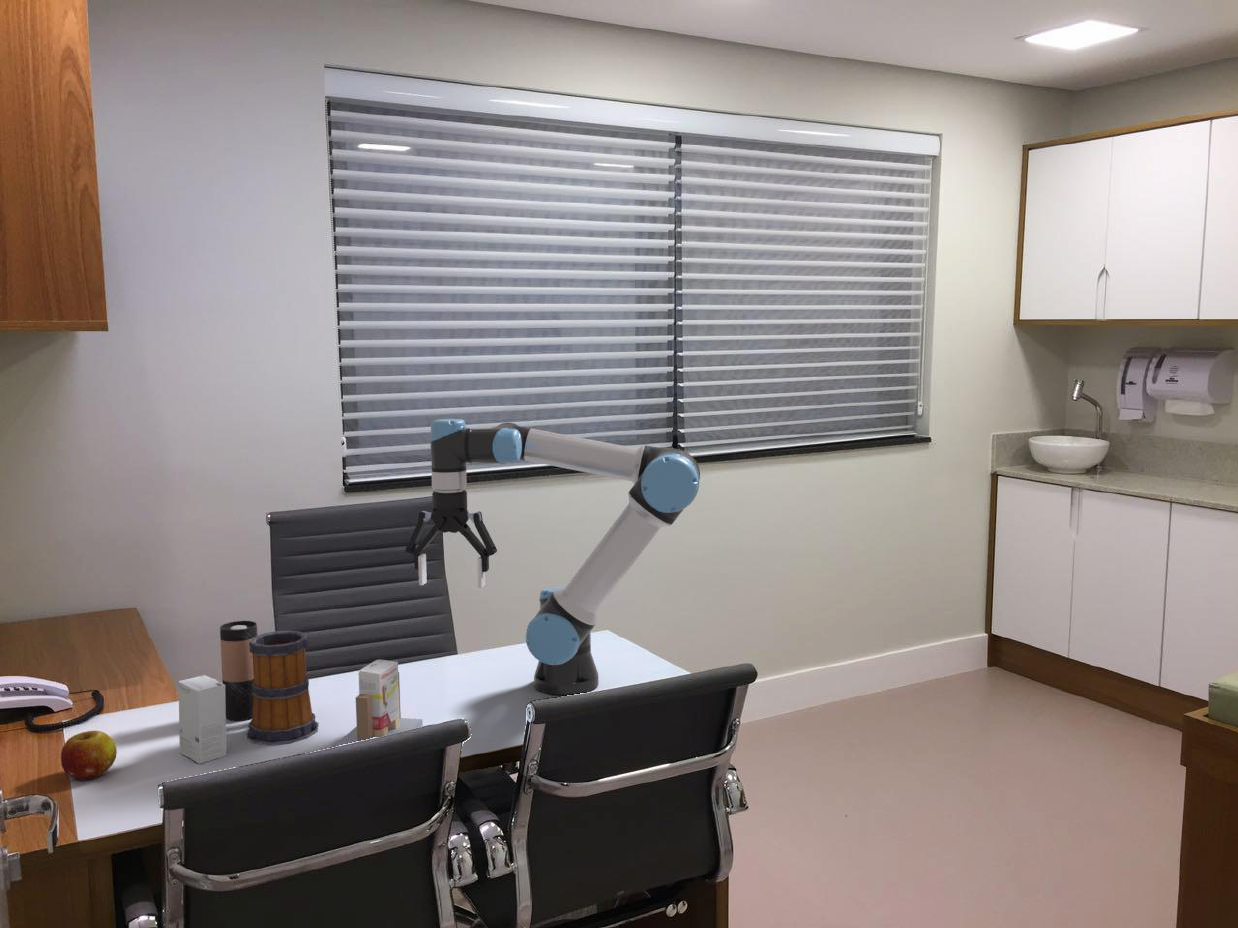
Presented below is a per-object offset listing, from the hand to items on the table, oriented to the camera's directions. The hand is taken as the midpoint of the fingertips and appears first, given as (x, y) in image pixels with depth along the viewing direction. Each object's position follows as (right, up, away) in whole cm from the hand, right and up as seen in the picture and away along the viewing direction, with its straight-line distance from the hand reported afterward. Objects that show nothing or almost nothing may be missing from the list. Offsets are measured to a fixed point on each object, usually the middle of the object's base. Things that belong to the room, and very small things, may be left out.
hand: (452, 585), depth 225 cm
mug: (-33, -29, -11) cm, 45 cm away
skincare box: (-45, -31, -25) cm, 60 cm away
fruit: (-62, -32, -34) cm, 78 cm away
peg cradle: (-12, -29, -18) cm, 36 cm away
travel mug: (-45, -28, -4) cm, 53 cm away
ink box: (-12, -26, -18) cm, 34 cm away
